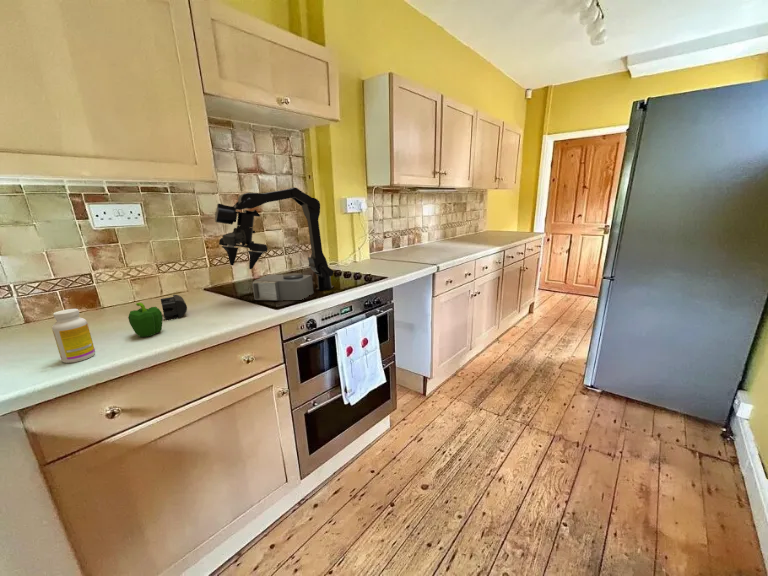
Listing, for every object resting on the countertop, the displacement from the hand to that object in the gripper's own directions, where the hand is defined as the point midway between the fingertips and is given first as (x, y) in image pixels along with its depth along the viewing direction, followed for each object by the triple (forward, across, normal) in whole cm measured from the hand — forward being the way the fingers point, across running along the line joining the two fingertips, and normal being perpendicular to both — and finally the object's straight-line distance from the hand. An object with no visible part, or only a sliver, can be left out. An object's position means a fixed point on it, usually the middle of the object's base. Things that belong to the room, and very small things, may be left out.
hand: (241, 267), depth 128 cm
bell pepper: (+22, -3, -32) cm, 39 cm away
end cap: (+20, -12, -16) cm, 28 cm away
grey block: (+11, +11, +15) cm, 21 cm away
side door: (+12, +8, +6) cm, 16 cm away
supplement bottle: (+25, -4, -49) cm, 55 cm away
